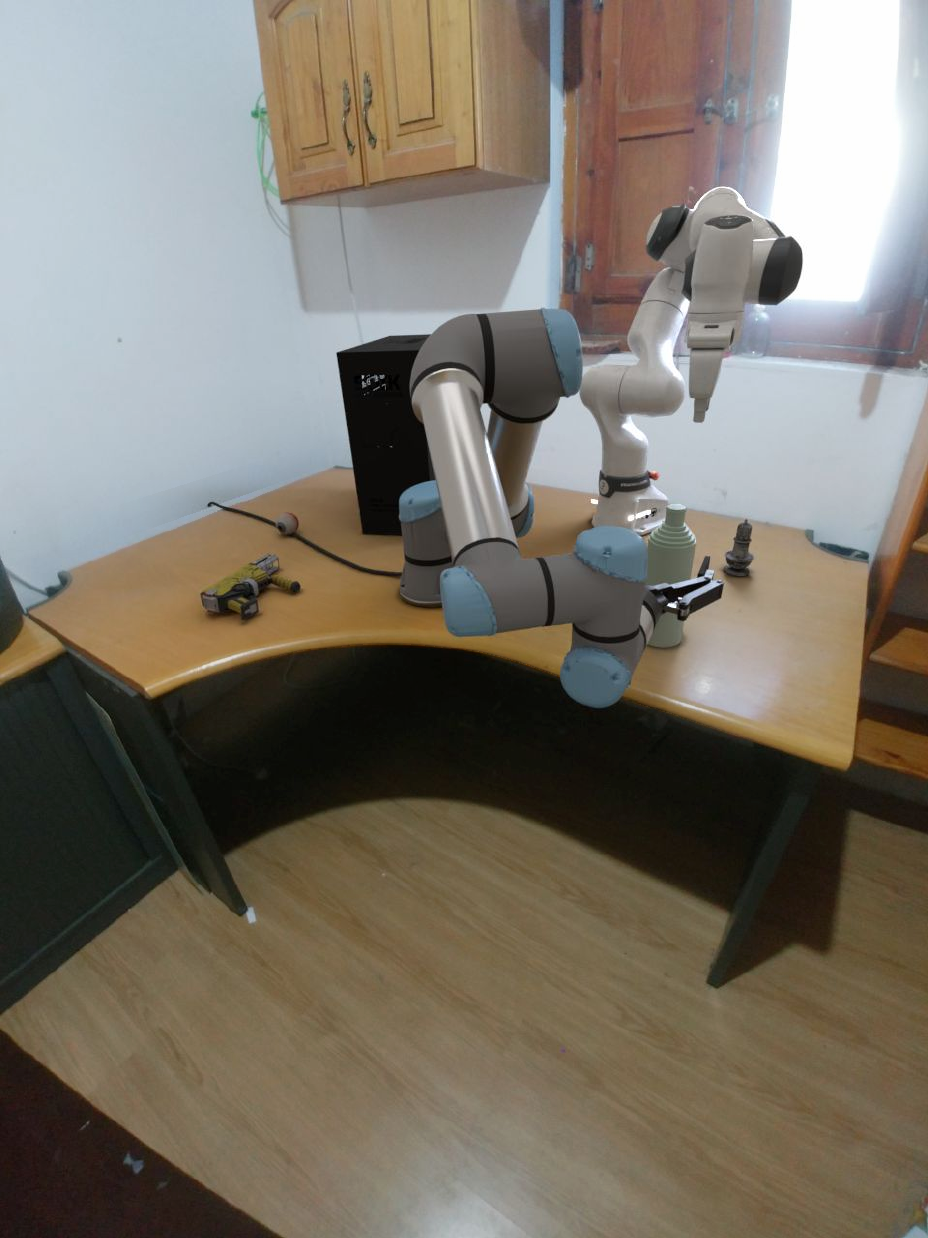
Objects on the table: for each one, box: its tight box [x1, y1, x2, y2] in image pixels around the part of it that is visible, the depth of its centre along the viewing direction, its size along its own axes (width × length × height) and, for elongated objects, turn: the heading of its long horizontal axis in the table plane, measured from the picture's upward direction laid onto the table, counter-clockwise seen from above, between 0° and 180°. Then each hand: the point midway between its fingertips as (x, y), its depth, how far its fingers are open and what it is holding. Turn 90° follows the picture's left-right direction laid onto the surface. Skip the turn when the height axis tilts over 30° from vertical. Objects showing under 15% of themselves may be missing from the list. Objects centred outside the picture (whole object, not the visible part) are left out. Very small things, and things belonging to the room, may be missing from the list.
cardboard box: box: [335, 333, 435, 536], centre depth 165 cm, size 38×20×45 cm, turn 167°
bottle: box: [645, 503, 697, 649], centre depth 105 cm, size 8×8×25 cm
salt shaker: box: [723, 518, 755, 577], centre depth 129 cm, size 6×6×12 cm
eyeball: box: [275, 511, 300, 536], centre depth 163 cm, size 6×6×6 cm
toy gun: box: [199, 552, 301, 621], centre depth 133 cm, size 5×24×15 cm
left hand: (660, 557), depth 94 cm, fingers open, 13 cm apart
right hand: (701, 415), depth 108 cm, fingers open, 8 cm apart
